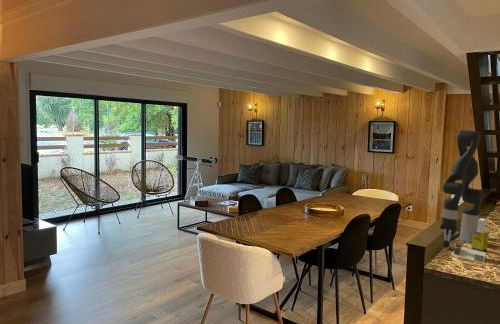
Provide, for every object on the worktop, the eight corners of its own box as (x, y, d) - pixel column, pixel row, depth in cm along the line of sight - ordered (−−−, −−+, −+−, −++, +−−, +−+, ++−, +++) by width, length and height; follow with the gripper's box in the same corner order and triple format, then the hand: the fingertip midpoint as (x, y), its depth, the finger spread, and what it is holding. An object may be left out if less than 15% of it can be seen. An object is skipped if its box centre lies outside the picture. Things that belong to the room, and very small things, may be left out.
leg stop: (474, 258, 194) (475, 254, 194) (483, 260, 192) (484, 256, 192) (474, 259, 193) (474, 255, 192) (483, 261, 190) (483, 257, 190)
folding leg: (458, 255, 199) (459, 248, 198) (453, 253, 200) (454, 247, 200) (460, 249, 210) (461, 242, 210) (456, 248, 211) (456, 242, 211)
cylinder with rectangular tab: (473, 234, 253) (475, 217, 252) (488, 237, 248) (491, 219, 247) (470, 236, 246) (473, 219, 245) (486, 240, 241) (489, 221, 240)
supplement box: (482, 251, 213) (484, 233, 212) (471, 248, 218) (473, 230, 217) (486, 250, 217) (489, 232, 216) (475, 247, 222) (478, 229, 221)
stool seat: (455, 248, 216) (455, 246, 215) (485, 255, 207) (485, 252, 207) (451, 257, 198) (451, 255, 198) (484, 265, 190) (484, 262, 190)
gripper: (464, 218, 208) (460, 248, 210) (438, 213, 216) (434, 242, 218) (462, 220, 202) (458, 251, 204) (435, 215, 210) (432, 245, 212)
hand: (446, 247), depth 211 cm, fingers closed
